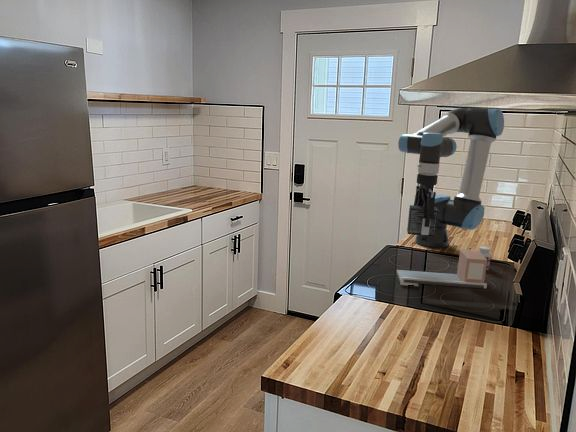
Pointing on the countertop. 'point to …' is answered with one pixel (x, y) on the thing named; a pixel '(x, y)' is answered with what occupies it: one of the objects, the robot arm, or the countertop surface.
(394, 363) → the countertop surface
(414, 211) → the small box
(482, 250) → the pill bottle
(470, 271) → the faced carton
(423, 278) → the shelf
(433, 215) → the robot arm
